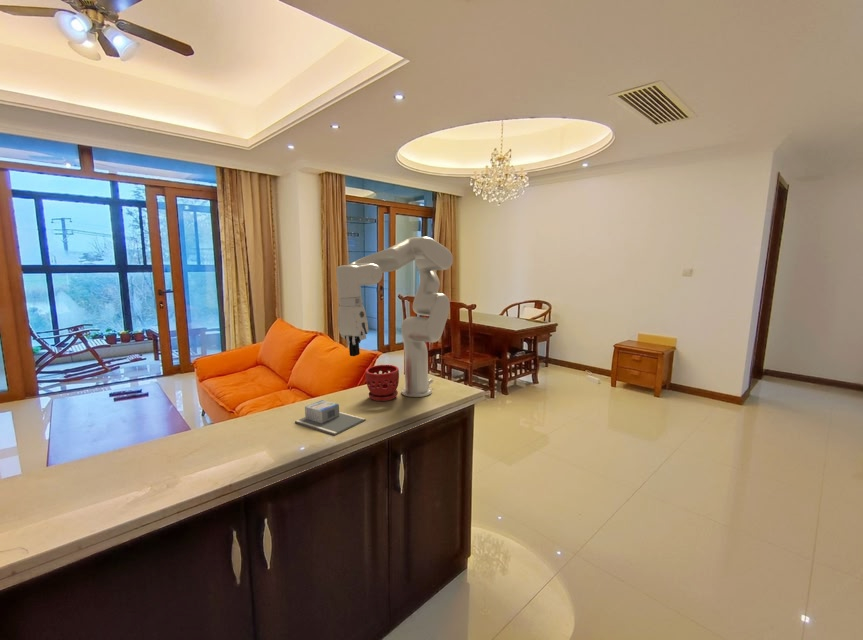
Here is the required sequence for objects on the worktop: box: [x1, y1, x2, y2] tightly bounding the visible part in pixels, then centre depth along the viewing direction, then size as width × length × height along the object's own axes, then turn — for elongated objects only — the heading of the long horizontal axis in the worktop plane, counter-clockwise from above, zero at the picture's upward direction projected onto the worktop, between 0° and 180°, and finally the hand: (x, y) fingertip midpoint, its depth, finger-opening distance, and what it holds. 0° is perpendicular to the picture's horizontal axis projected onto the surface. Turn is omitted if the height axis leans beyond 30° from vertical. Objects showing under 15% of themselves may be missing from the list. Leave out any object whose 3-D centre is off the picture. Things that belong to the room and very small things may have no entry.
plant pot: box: [365, 364, 400, 402], centre depth 154 cm, size 13×13×12 cm
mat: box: [294, 411, 366, 436], centre depth 132 cm, size 14×19×1 cm
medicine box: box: [304, 399, 340, 423], centre depth 134 cm, size 8×4×9 cm
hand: (354, 355), depth 133 cm, fingers closed
